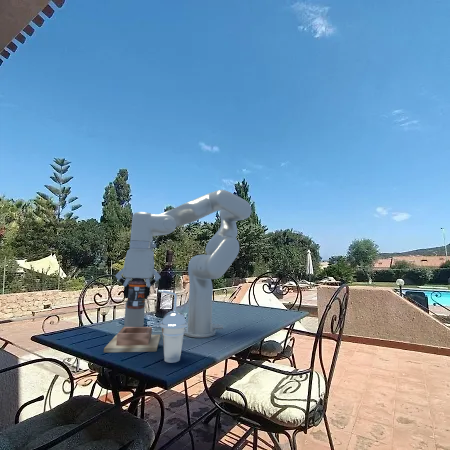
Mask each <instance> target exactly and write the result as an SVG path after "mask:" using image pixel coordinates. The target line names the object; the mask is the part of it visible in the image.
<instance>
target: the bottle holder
mask: <svg viewBox="0 0 450 450" xmlns="http://www.w3.org/2000/svg"><path fill="white" fill-rule="evenodd" d="M152 332H153V326H142V327H124V326H123V327H122V328H121V329H120V330H119V331H118V333H117V334H116V335H115V336H113V338H112V339H110V341H109V342H108V343H107V344H106V346H105V347H104V348H103V353H105V354H106V353H142V352H144V353H145V352H157V351H158V347H159V344H160V340H161V334H152Z"/></svg>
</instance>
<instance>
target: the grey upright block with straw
mask: <svg viewBox="0 0 450 450" xmlns="http://www.w3.org/2000/svg"><path fill="white" fill-rule="evenodd" d="M157 293H162V294H166V295H171V296H174V297H173V310H171V311H169V312H167V313H166V314H165V315H164V316H163V318H162V321H160V322H159V325H158V326H159V327H160V328H161V333H162V340H163V342H162V343H163V356H164V357H163V358H164V359H163V360H164V362H166V363H177V362H179V361H181V354H182V347H183V342H184V336H185V335H184V333H185V329H187V328H188V320H186V317H185V315H184V314H183V313H182V312H180V311H178V310H177V301H178V300H177V299H178V296H177V294H176V293H175V292H173V291H168V290H162V289H158V291H157Z"/></svg>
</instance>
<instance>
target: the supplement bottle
mask: <svg viewBox="0 0 450 450" xmlns="http://www.w3.org/2000/svg"><path fill="white" fill-rule="evenodd" d="M146 285H147V284H146V281H145V279H141V278H134V279H131V280H130V282H129V288H128V298H127V299H126V300H127V301H126V302H127V308H128V309H143V308H144V305H145V306H146V302H145V301H146V299H145V288H146Z"/></svg>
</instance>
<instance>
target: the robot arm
mask: <svg viewBox="0 0 450 450" xmlns="http://www.w3.org/2000/svg"><path fill="white" fill-rule="evenodd" d="M216 212H219V218H220V227H219V228H218V230H217V231H216V232H215V234H214V235H213V236H212V237H211V238H210V239H209V241H208V242H207V244H206V246H205V253H206V254H197V255H194V256H193V257H191V259H189V261H188V265H187V272H188V279H189V280H188V281H189V291H188V292H189V294H188V312H187V313H188V318H187V322H188V326H187V328H185V333H184V336H186V337H190V338H196V339H197V338H200V339H201V338H211V337H212V336H215V335H216V330H219V331H221V330H224V324H221V323H213V320H212V319H213V293H214V291H213V290H214V287H213V281H212V280H217V279H220V278H221V277H222V276H224V275H225V273H226V272H227V271H228V269H229V268H230V266H231V265H232V264H233V262H235V260H236V258H237V256H239V252H240V242H239V240H238V239H237V236H238V227H237V222H236V221H243V220H244V221H245V220H247V219H248V218H249V217H250V216H251V214H252V207H251V204H250V203H249V202H248V201H247V199H246V200H245V199H243V198H242V197H240V196H239V195H237V194H235V193H232V192H230V191H228V190H225V189H218V190H215V191H212V192H208V193H206V194H203V195H202V196H199V197H197V198H194V199H192V200H190V201H186V202H185V203H183V204H182V203H181V205H178V206H175V207H174V208H172V209H169V210H167V211H165V212H163V213H158V214H157V213H155V214H154V213H150V212H147V211H137V212H134V213H133V214H132V220H131V229H130V231H131V232H130V242H129V249H128V250H127V252H126V255H125V258H124V265H123V268H121V270H119V271H118V272H117V273H116V274H115V278H116V279H117V280H118V281H119V282H120V284H121V285H122V286H123V296H124V299H126V300H127V299H128V288H129V282H131V281H132V279H134V278H141V279H144V281H145V282H146V288H145V300H147V299H148V298H149V297H150V296H151V287H152V286H153V285H154V284H155V283H156V282H157V281H159V280H160V279H161V275H160V274H159V272H157V270H156V269H155V253H154V250H153V249H156V248H157V244H156V243H153V236H154V237H155V236H156V237H158V236H165V235H169V234H171V233H173V232H174V231H175V230H176V228H177V227H180V226H184V225H188V224H191V223H192V224H193V223H195V222H197V221H198V220H200V219H203V218H205V217H207V216H210V215H211V214H213V213H216ZM122 276H123V277H122ZM154 276H155V278H153V277H154ZM152 278H153V279H152ZM151 279H152V280H151Z"/></svg>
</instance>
